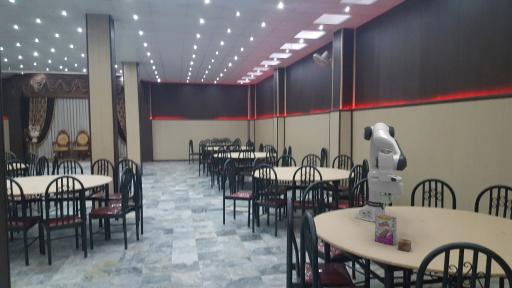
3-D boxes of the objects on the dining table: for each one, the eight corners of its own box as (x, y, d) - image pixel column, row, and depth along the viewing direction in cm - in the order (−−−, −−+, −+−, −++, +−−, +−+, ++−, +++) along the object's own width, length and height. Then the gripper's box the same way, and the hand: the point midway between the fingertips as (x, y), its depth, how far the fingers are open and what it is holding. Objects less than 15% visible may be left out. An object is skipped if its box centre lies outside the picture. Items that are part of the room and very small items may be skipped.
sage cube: (380, 202, 208) (380, 195, 208) (384, 201, 211) (384, 194, 211) (388, 203, 205) (388, 196, 205) (391, 202, 208) (391, 195, 208)
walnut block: (397, 250, 197) (397, 241, 197) (400, 246, 202) (400, 238, 202) (409, 252, 193) (409, 243, 193) (411, 248, 198) (411, 240, 198)
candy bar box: (374, 241, 211) (375, 215, 211) (378, 239, 215) (378, 213, 214) (393, 245, 204) (393, 218, 203) (396, 243, 208) (396, 216, 207)
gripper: (367, 176, 212) (367, 198, 213) (400, 179, 198) (400, 203, 199) (372, 175, 217) (372, 197, 218) (405, 178, 203) (405, 201, 203)
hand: (386, 200), depth 208 cm, fingers closed on sage cube, 4 cm apart
